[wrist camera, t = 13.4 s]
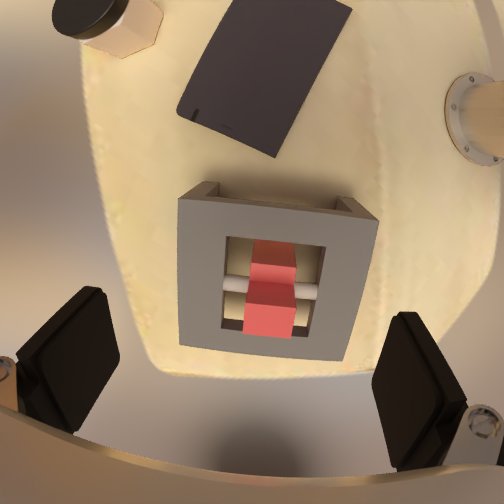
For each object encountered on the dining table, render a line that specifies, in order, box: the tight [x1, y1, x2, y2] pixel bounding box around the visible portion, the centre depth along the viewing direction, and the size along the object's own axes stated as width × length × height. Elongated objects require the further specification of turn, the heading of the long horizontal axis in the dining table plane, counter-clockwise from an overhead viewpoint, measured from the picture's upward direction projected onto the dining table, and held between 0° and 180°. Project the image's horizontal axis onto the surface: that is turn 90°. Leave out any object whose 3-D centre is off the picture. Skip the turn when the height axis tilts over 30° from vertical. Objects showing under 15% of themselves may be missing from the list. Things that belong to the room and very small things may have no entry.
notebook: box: [176, 0, 352, 158], centre depth 30 cm, size 13×2×21 cm
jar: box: [52, 0, 164, 59], centre depth 24 cm, size 9×8×12 cm
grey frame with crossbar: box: [177, 182, 379, 361], centre depth 34 cm, size 18×16×10 cm
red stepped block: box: [243, 239, 297, 339], centre depth 31 cm, size 4×6×13 cm, turn 175°
